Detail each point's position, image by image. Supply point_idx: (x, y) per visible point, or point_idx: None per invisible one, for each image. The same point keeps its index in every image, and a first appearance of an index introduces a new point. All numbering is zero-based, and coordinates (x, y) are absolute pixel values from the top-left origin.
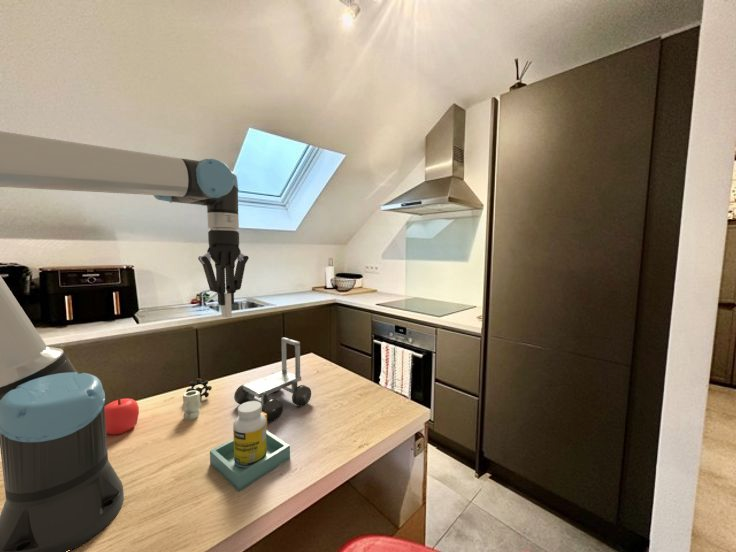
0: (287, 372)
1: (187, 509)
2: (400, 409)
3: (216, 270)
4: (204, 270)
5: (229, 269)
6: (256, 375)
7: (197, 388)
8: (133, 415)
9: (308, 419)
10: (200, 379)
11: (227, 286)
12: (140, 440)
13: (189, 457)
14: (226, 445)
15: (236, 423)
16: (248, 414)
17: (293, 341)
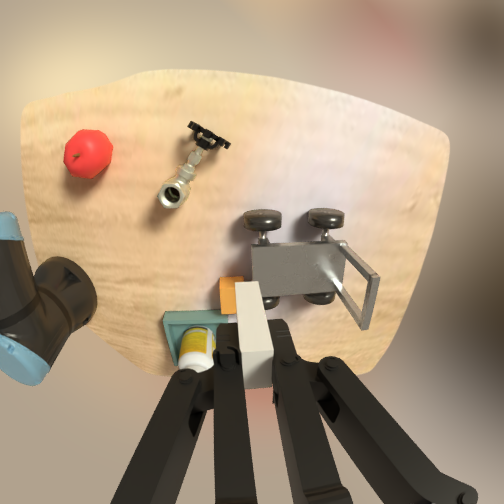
0: (340, 258)
1: (138, 343)
2: (366, 360)
3: (215, 489)
4: (122, 482)
5: (293, 501)
6: (340, 121)
7: (202, 142)
8: (99, 171)
9: (293, 317)
10: (210, 135)
11: (282, 385)
12: (111, 204)
13: (150, 285)
14: (180, 323)
15: (180, 367)
16: None
17: (365, 317)
